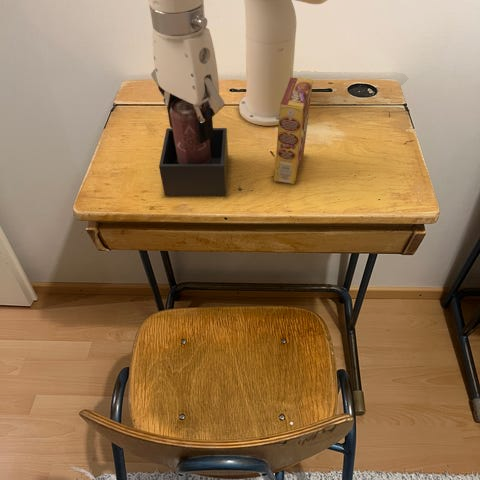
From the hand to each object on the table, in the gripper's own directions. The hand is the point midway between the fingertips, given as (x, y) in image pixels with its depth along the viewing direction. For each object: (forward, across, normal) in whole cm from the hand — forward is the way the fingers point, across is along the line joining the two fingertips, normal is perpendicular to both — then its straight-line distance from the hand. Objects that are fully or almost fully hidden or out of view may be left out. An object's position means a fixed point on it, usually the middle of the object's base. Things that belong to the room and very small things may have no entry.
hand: (191, 131), depth 80 cm
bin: (+10, 0, 0) cm, 10 cm away
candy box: (+10, -12, -13) cm, 20 cm away
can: (+9, 0, 0) cm, 9 cm away
